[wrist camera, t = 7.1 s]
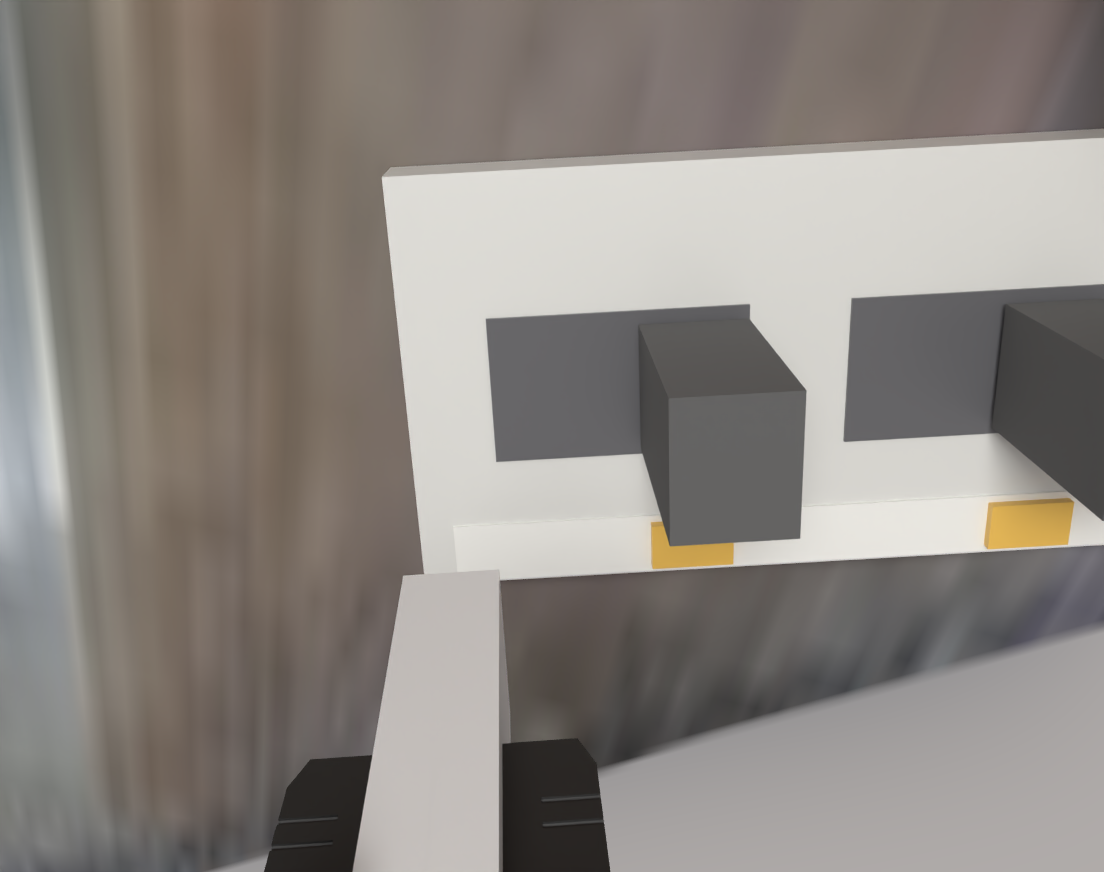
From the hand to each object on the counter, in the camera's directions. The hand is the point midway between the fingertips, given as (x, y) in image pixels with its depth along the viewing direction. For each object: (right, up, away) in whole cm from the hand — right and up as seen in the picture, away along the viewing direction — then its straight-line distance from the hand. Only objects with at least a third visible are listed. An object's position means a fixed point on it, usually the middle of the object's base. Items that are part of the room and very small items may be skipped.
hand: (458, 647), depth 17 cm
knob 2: (+15, +5, +12) cm, 20 cm away
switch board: (+13, +6, +15) cm, 21 cm away
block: (+5, +5, +12) cm, 14 cm away
